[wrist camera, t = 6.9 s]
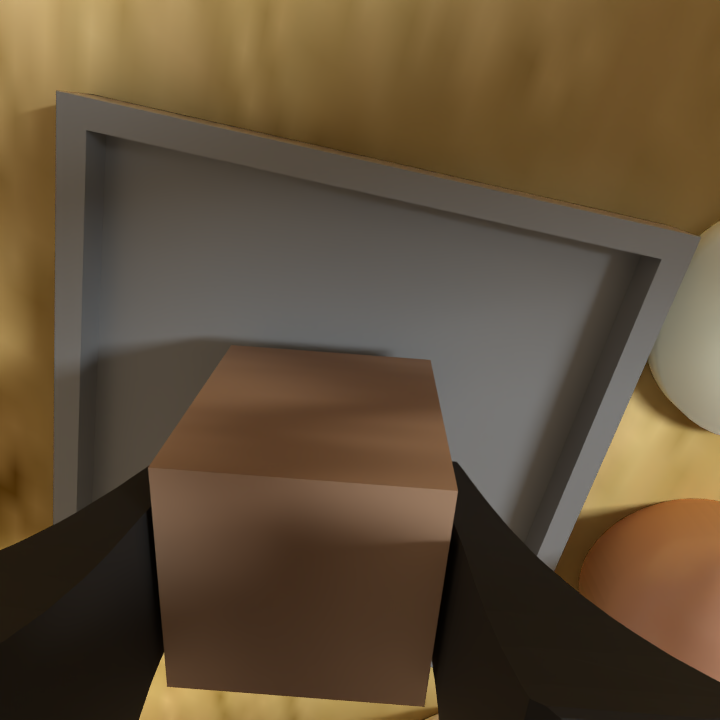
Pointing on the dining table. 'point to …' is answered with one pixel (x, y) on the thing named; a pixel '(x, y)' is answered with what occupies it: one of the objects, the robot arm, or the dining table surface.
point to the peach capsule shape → (663, 578)
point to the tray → (341, 298)
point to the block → (305, 527)
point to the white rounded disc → (693, 339)
